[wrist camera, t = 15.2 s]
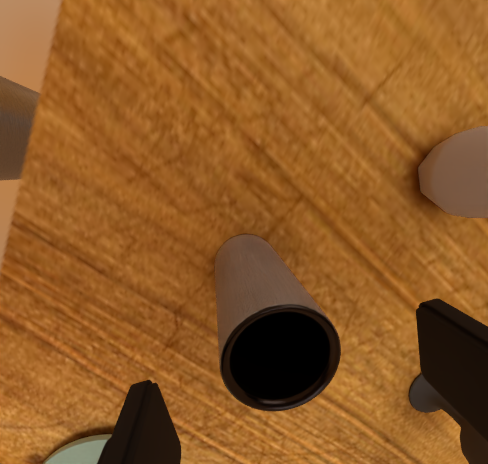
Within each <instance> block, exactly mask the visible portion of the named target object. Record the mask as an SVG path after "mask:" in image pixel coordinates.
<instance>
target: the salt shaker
mask: <svg viewBox="0 0 488 464" xmlns="http://www.w3.org/2000/svg"><path fill="white" fill-rule="evenodd" d="M418 173H419V182H420V191H421V192H422V193H423V194H424V195H425V196H426V197H428V198H429V199H430V200H431V201H432V202H434V203H435V204H436V205H437V206H438V207H440V208H441V209H442V210H443V211H444V212H446V213H449V214H451V215H456V216H461V217H466V218H488V126H480V127H476V128H473V129H469V130H466V131H463V132H460V133H456V134H454V135H452V136H451V137H449V138H448V139H446V140H444V141H443V142H441V143H439V144H438V145H436V146H434V148H433V149H432V150H431V152H430V153H429V154H428V155H427V157H426V158H425V159H424V161H423V162H422V163H421V164H420V166H419V167H418Z"/></svg>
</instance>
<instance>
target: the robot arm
mask: <svg viewBox="0 0 488 464" xmlns="http://www.w3.org/2000/svg"><path fill="white" fill-rule="evenodd" d="M416 318H417V330H418V343H419V355H420V367H421V372H422V375H423V377H424V378H425V380H426V381H427V382H428V383H429V384H430V385H431V386H432V387H433V388H434V389H435V390H436V391H437V392H438V393H439V394H440V395H441V396H442V397H443V398H444V399H445V400H446V401H447V402H448V403H449V404H450V405H451V406H452V407H453V408H454V409H455V410H456V411H457V412H458V413H459V414H460V415H461V416H462V417H463V418H464V419H465V420H466V421H467V422H468V423H469V424H470V425H471V426H472V427H473V428H474V429H475V430H476V431H477V432H478V433H479V434H480V435H481V436H482V437H483V438H484V439H485V440H486V441H487V442H488V327H487V326H486V325H484V324H482V323H480V322H479V321H477V320H475V319H473V318H472V317H470V316H468V315H466V314H465V313H463V312H461V311H459V310H458V309H456V308H454V307H453V306H451V305H449V304H447V303H446V302H444V301H442V300H440V299H433V300H429V301H426V302H422V303H420V305H419V308H418V309H417V310H416ZM180 460H181V445H180V441H179V438H178V436H177V433H176V430H175V428H174V425H173V423H172V420H171V418H170V415H169V412H168V410H167V407H166V405H165V402H164V399H163V397H162V394H161V392H160V389H159V387H158V384H157V383H153V384H152V382H151V381H150V380H147V381H143V382H139V383H136V384H133V385H131V387H130V389H129V392H128V394H127V397H126V400H125V402H124V405H123V407H122V410H121V413H120V415H119V418H118V421H117V423H116V426H115V428H114V431H113V434H112V436H111V438H109V439H108V440H107V441H106V443H105V445H104V447H103V450H102V452H101V455H100V457H99V460H98V462H97V464H180Z"/></svg>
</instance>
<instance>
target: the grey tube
mask: <svg viewBox="0 0 488 464" xmlns="http://www.w3.org/2000/svg"><path fill="white" fill-rule="evenodd" d="M214 269H215V288H216V307H217V326H218V345H219V363H220V372H221V376H222V379H223V382H224V384H225V386H226V387H227V389H228V390H229V392H230V393H231V394H232V395H233V396H234V397H235V398H236V399H237V400H239V401H240V402H241V403H243V404H245V405H247V406H249V407H251V408H254V409H258V410H263V411H283V410H288V409H292V408H295V407H298V406H301V405H303V404H305V403H307V402H309V401H310V400H312V399H313V398H315V397H316V396H317V395H319V394H320V393H321V392H322V391H323V390H324V389H325V388H326V387H327V385H328V384H329V383H330V381H331V380H332V378H333V377H334V375H335V373H336V371H337V368H338V365H339V361H340V355H341V346H340V340H339V336H338V333H337V331H336V329H335V327H334V325H333V324H332V323H331V321H330V320H329V319H328V317H327V316H326V315H325V313H324V312H323V311H322V310H321V308H320V307H319V306H318V305H317V303H316V302H315V301H314V300H313V298H312V297H311V296H310V294H309V293H308V292H307V291H306V289H305V288H304V287H303V286H302V284H301V283H300V282H299V281H298V279H297V278H296V277H295V276H294V274H293V273H292V272H291V270H290V269H289V268H288V267H287V265H286V264H285V263H284V262H283V260H282V259H281V258H280V257H279V255H278V254H277V253H276V252H275V250H274V249H273V248H272V247H271V245H270V244H269V243H267V242H266V241H265V240H264V239H262V238H260V237H258V236H255V235H251V234H243V235H238V236H235V237H233V238H231V239H229V240H227V241H226V242H225V243H224V244H223V245H222V246H221V247H220V249H219V251H218V253H217V255H216V258H215V266H214Z"/></svg>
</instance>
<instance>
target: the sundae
mask: <svg viewBox="0 0 488 464" xmlns="http://www.w3.org/2000/svg"><path fill="white" fill-rule="evenodd" d="M409 398H410V402H411V404H412V406H413V407H414V408H415V409H416V410H419V411H421V412H425V413H428V412H435V411H437V410H440V409H443V410H444V411H445V412H447V413H448V414H449V415H450V416H451V417H452V418H453V419H454V420H455V421H456V422H457V423H458V424H459V425H460V427H461V432H460V442H461V448H462V453H463V454H464V456H465V457H466V459H467V461H468V462H469V464H488V442H487V441H486V440H485V439H484V438H483V437H482V436H481V435H480V434H479V433H478V432H477V431H476V430H475V429H474V428H473V427H472V426H471V425H470V424H469V423H468V422H467V421H466V420H465V419H464V418H463V417H462V416H461V415H460V414H459V413H458V412H457V411H456V410H455V409H454V408H453V407H452V406H451V405H450V404H449V403H448V402H447V401H446V400H445V399H444V398H443V397H442V396H441V395H440V394H439V393H438V392H437V391H436V390H435V389H434V388H433V387H432V386H431V385H430V384H429V383H428V382H427V381H426V380H425V378H424V377H423V375H422V374H421V375H420V376H418V377H417V378H416V380H415V381H414V382H413V384H412V386H411V389H410V393H409Z"/></svg>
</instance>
